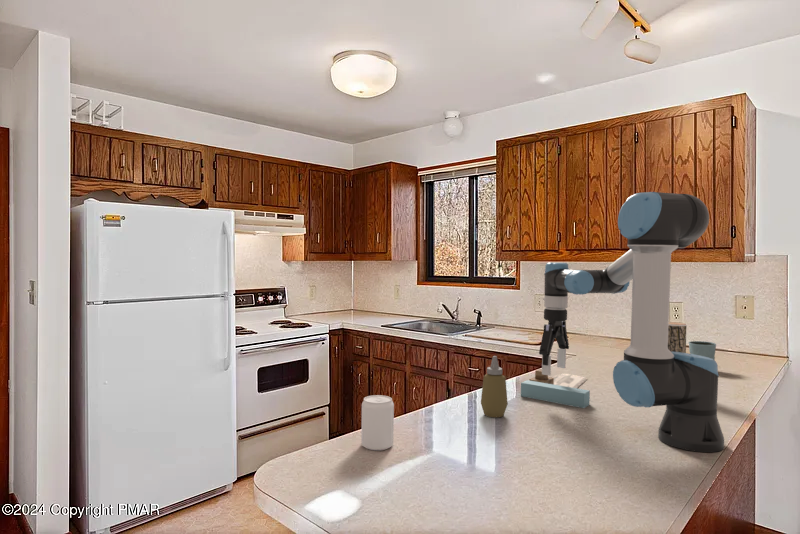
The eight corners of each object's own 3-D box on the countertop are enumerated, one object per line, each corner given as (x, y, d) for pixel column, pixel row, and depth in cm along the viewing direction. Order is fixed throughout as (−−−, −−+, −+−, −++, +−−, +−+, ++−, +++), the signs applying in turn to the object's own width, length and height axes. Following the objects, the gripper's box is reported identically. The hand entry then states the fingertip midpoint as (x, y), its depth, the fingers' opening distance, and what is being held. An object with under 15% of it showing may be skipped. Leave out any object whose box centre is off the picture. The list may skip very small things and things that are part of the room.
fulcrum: (545, 393, 185) (545, 373, 185) (529, 390, 189) (529, 371, 189) (553, 388, 192) (553, 369, 191) (537, 386, 195) (538, 367, 195)
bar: (584, 409, 167) (584, 393, 167) (520, 397, 181) (520, 382, 181) (589, 405, 171) (589, 390, 171) (526, 394, 185) (527, 380, 185)
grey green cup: (720, 372, 223) (721, 344, 222) (703, 373, 219) (704, 345, 219) (699, 367, 232) (700, 340, 232) (682, 368, 228) (683, 341, 228)
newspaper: (555, 377, 213) (556, 371, 213) (586, 384, 207) (587, 377, 207) (539, 388, 194) (540, 381, 194) (573, 396, 187) (574, 389, 187)
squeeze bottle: (487, 420, 154) (488, 359, 153) (476, 412, 162) (477, 354, 161) (512, 418, 156) (513, 358, 156) (500, 410, 164) (500, 353, 163)
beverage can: (376, 438, 138) (376, 392, 138) (399, 445, 133) (400, 398, 132) (354, 446, 132) (355, 399, 131) (378, 454, 126) (379, 405, 126)
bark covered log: (687, 396, 183) (689, 325, 183) (666, 394, 184) (668, 324, 184) (681, 391, 190) (682, 322, 189) (661, 390, 191) (662, 322, 191)
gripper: (558, 304, 188) (556, 363, 188) (529, 310, 168) (528, 376, 169) (579, 306, 183) (577, 366, 184) (552, 312, 163) (550, 379, 164)
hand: (553, 371), depth 176 cm, fingers open, 13 cm apart
